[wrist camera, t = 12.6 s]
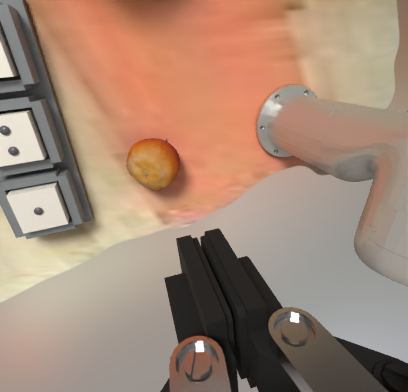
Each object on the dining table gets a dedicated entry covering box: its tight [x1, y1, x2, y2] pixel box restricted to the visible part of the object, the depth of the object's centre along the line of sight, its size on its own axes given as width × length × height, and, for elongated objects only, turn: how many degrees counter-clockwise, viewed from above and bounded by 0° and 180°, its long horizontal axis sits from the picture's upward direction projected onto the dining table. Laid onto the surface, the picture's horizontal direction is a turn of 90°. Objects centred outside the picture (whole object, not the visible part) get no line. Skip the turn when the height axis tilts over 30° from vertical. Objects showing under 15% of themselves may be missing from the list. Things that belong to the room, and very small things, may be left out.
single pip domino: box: [6, 181, 71, 234], centre depth 40 cm, size 6×6×4 cm
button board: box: [0, 0, 93, 239], centre depth 37 cm, size 11×31×4 cm, turn 6°
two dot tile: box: [0, 108, 48, 167], centre depth 36 cm, size 6×6×4 cm
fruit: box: [126, 139, 180, 190], centre depth 44 cm, size 8×8×8 cm
